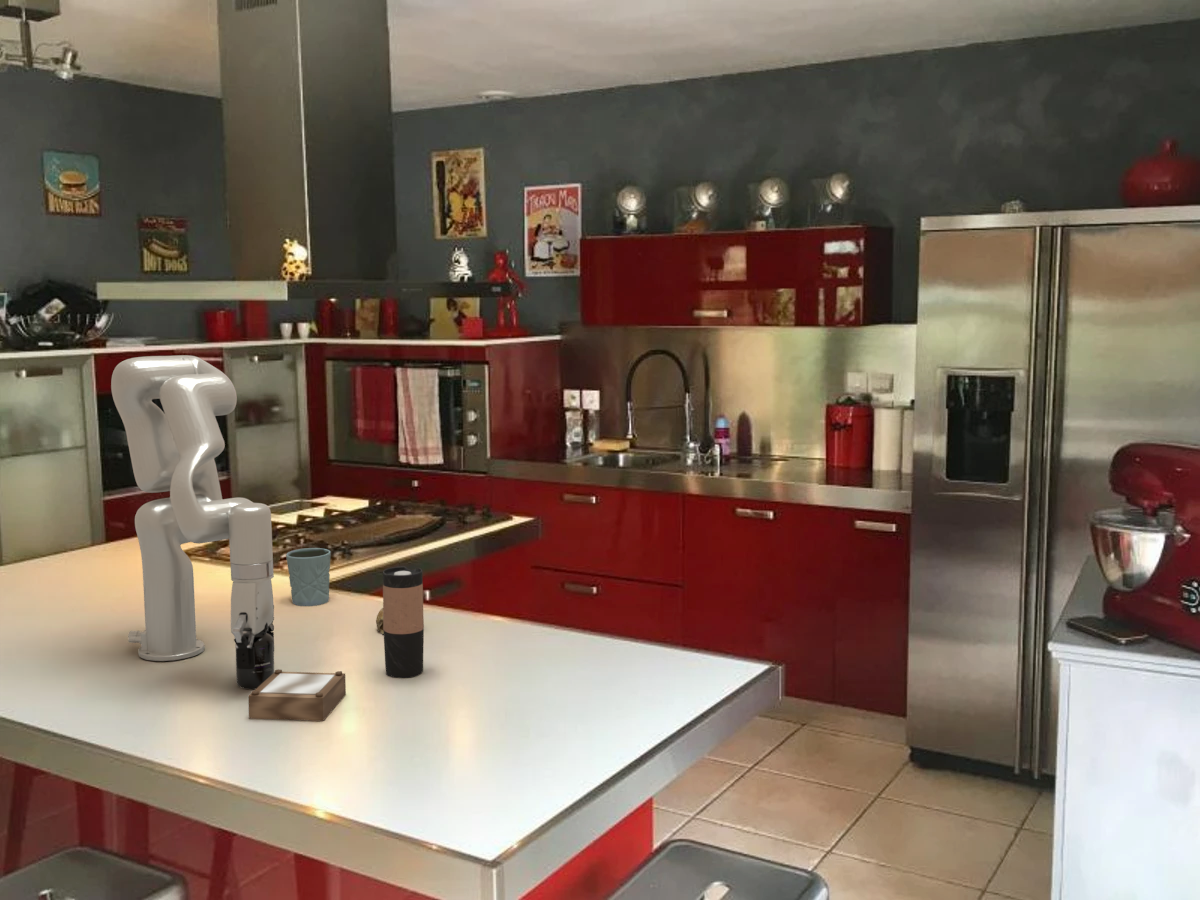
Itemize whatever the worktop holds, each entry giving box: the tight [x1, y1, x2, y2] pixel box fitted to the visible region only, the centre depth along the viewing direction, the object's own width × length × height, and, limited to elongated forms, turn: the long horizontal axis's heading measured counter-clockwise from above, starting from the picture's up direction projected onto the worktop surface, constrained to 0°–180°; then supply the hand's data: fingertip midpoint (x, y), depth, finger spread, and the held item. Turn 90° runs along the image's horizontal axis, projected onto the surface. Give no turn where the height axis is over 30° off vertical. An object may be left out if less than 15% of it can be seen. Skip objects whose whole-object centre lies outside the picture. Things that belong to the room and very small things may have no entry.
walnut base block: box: [247, 669, 347, 722], centre depth 200 cm, size 13×13×4 cm
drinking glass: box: [285, 547, 332, 607], centre depth 269 cm, size 10×10×12 cm
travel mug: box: [382, 566, 425, 679], centre depth 218 cm, size 8×8×20 cm
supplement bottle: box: [235, 623, 275, 690], centre depth 211 cm, size 7×7×12 cm
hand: (256, 660), depth 211 cm, fingers open, 9 cm apart
